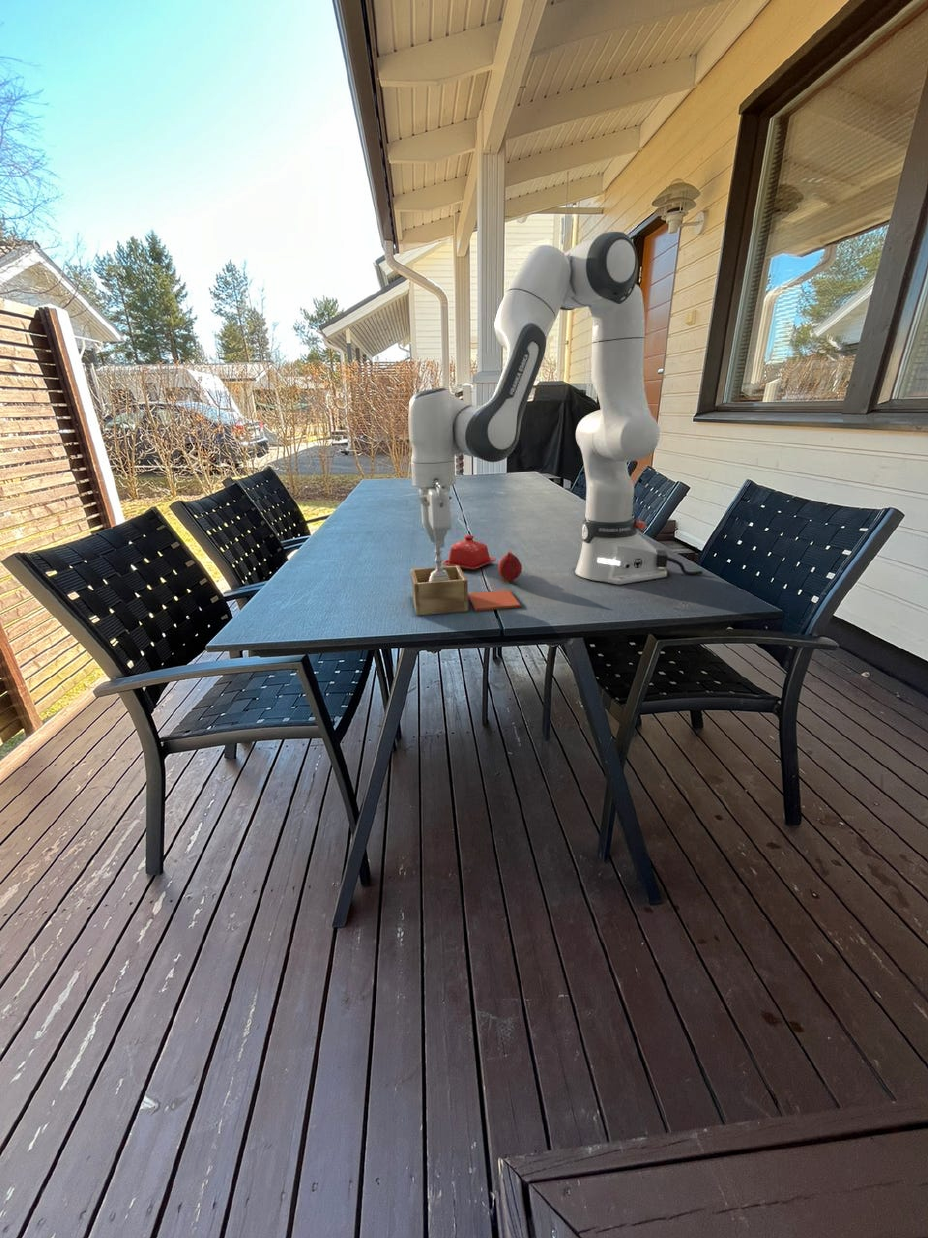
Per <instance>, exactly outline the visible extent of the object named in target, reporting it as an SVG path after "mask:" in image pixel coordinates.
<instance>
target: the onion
mask: <svg viewBox="0 0 928 1238" xmlns="http://www.w3.org/2000/svg"><path fill="white" fill-rule="evenodd" d="M522 570H523V565H522V562H521V561H520V559H519V558H518V557H517V556H516V555H515V554H513V553H512V551H511V550H507V553H506V554H505V555H504V556H503V557H502V558H500V561H498V564H497V571H498V574H499V576H500V578H502V579H503V580H504V581H505V582H507V583H510V584H511V583H512V582H514V581H515V580H517V579H518V578H519V577H520V575H521V574H522Z"/></svg>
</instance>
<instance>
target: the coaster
mask: <svg viewBox="0 0 928 1238" xmlns="http://www.w3.org/2000/svg"><path fill="white" fill-rule="evenodd" d="M468 601H469V602H470V604H471V606H472V608H473V610H474V611H475V612H481V611H482V612H483V611H493V610H503V609H515V608H521V604H520V602H519V601H518V599H517V598H516V597H515V596H514V594H513V593H512V592H511V590H509V589H505V590H492V591H482V592H481V591H480V592H470V593H469V592H468Z"/></svg>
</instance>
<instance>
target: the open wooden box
mask: <svg viewBox="0 0 928 1238" xmlns="http://www.w3.org/2000/svg"><path fill="white" fill-rule="evenodd" d="M436 567H437V566H433V567H419V568H418V567H417V568H410V583H411V584H410V586H411V596H412V597H411V598H412V603H413V608H414V610H415V615H416V616H428V615H439V614H451V613H460V612H461V613H463V612H468V611H469V598H468V593H469V589H468V588H469V587H468V584H469V583H468V578H467V577H466V575H465V574H464V572H463V569H462V568H460V567H459V565H458V566H450V565H445V566H441V568H442V570H445V571H446V572H447V573H448V576H449V578H450V580H448V581H436V582H428V581H429V579H430V576H431V573H432V571H434V570H435V569H436Z"/></svg>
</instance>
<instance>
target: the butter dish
mask: <svg viewBox="0 0 928 1238" xmlns="http://www.w3.org/2000/svg"><path fill="white" fill-rule="evenodd" d="M474 537H475V536H474V535H473V534H465V535H464V540H460V541H458V542H455V543H454V544H452V545H451V547H450V549H449V555H448V559H446V560H444V561H442V564H443V565H445V566H458V565H459V567H460V568H461V569H462V570H463V569H464V570H469V571H475V570H477V569H480V568H481V567H485V566H487V565H488V564H491V563H493V562H495V561H497V559H496V558H495V557H491V556H490V553H489V549H488V548H489V547H488V546H487V544H486V543H484V542H481V541H478V540H474Z"/></svg>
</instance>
